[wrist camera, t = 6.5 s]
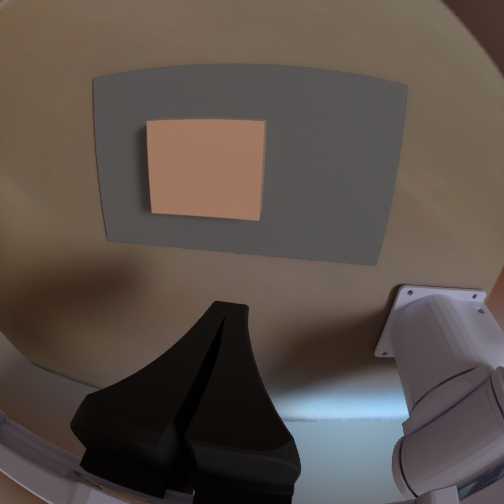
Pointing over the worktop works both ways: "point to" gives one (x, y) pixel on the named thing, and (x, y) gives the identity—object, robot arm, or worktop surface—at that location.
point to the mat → (276, 157)
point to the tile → (207, 166)
